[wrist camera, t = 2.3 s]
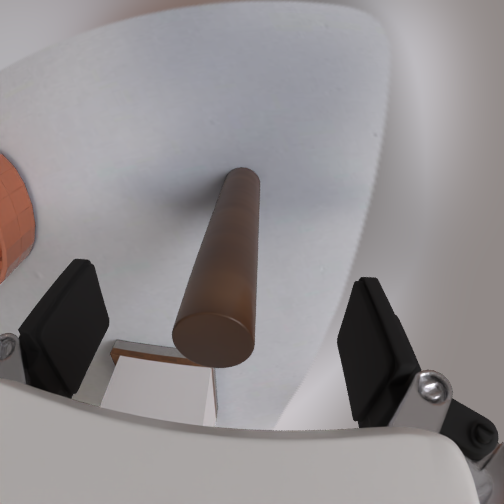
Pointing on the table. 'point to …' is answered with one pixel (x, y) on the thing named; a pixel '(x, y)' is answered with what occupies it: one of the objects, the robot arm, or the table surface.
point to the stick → (224, 280)
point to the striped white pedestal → (161, 385)
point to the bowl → (14, 219)
